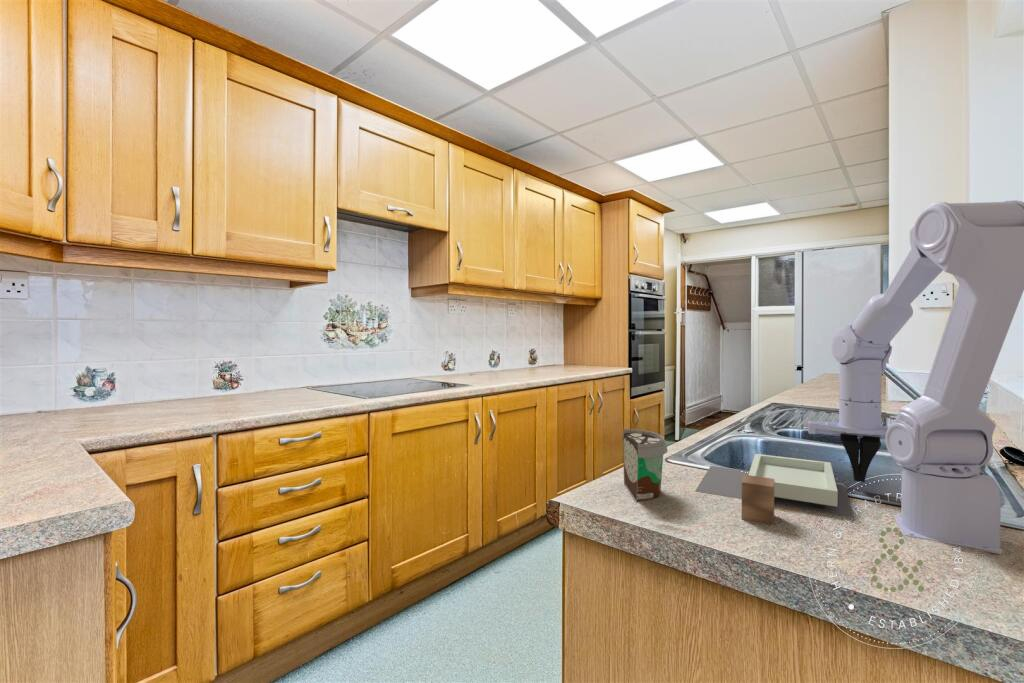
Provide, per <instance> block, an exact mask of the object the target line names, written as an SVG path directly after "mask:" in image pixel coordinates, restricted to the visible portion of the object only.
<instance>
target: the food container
mask: <svg viewBox="0 0 1024 683" xmlns="http://www.w3.org/2000/svg"><path fill="white" fill-rule="evenodd" d="M621 438H622V439H621V440H622V450H623V451H622V452H623V457H622V460H623V485H624V487H625V489H626V490H627V491H628V493H629V495H630V496H631V497H632V499H633V501H634V502H635V504H637V503H639V502H646V501H651V500H655V499H657V498H658V497H660V495H661V488H662V478H663V477H662V474H663V463H664V455H665V454H667V453H668V447H667V442H666V440H665V438H664V436H663V435H661V434H659V433H657V432H653V431H650V430H649V431H648V430H644V429H643V430H641V429H635V428H634V429H629V428H623V429H622V437H621Z"/></svg>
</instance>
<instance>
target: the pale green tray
mask: <svg viewBox="0 0 1024 683" xmlns="http://www.w3.org/2000/svg"><path fill="white" fill-rule="evenodd" d="M749 471H750V472H749V475H751V476H758V477H765V478H772V479H774V497H779V498H786V499H792V500H798V501H805V502H811V503H817V507H821V508H825V505H830V506H836V507H837V498H838V491H837V487H836V483H837V482H836V479H835V476H834V471H833V466H832V463H831V462H829V461H820V460H812V459H803V458H795V457H787V456H777V455H769V454H760V453H755V454H754V457H753V459H752V462H751V465H750V468H749Z"/></svg>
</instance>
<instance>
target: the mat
mask: <svg viewBox="0 0 1024 683" xmlns="http://www.w3.org/2000/svg"><path fill="white" fill-rule="evenodd" d="M741 471H743V472H741ZM745 472H746V473H745ZM747 472H748V473H747ZM749 472H750V470H745V469H739V468H731V467H724V466H723V467H722V466H717V465H710V466H709V468H708V469H707V471H706V473H705V474H704V476H703V477H702V479H701V481H700V482H699V484H698V486H697V487H696V489H695V490H694V492H697V493H703V494H708V495H715V496H721V497H725V498H726V497H727V498H733V499H739V500H742V480H743V477H744V475H749ZM835 483H836V487H837V491H838V498H837V507H836V506H830V505H825V508H821V507H817V503H811V502H805V501H798V500H792V499H786V498H779V497H774V506H781V507H786V508H793V509H799V510H804V511H811V512H817V513H822V514H828V515H834V516H835V515H836V516H841V517H845V518H846V517H848V518H852V519H853V518H855V517H854V513H853V510H852V506H851V502H850V500H849V496H848V492H847V488H846V486H845V483H841V482H835Z"/></svg>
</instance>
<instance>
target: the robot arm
mask: <svg viewBox="0 0 1024 683" xmlns="http://www.w3.org/2000/svg"><path fill="white" fill-rule="evenodd" d="M909 244H910V250H909V252H908V254H907V255H906V257H905V259H904V260H903V262H902V264H901V265H900V267H899V268H898V271H897V272H896V274H895V275H894V277H893V278H892V281H891V282H890V284H889V285H888V287H887V289H886V290H885V292H884V293H880V294H879V293H878V294H875V295H873V296H871V298H870V299H869V300H868V301H867V303H866V305H865V306H864V307H863V309H862V310H861V311H860V313H859V314H858V316H857V317H856V318H855V319H854V321H853V322H852V323H851V324H850V325H848V324H847V325H846V326H845V327H842V328H838V329H837V330H835V332H834V335H833V336H832V338H831V339H832V340H831V346H830V347H831V352H832V355H833V358H834V359H835V360H836V361H837V362H838V363H839V366H838V368H839V379H838V380H839V381H838V385H839V386H838V395H839V396H838V405H839V406H838V421H817V420H814V421H813V420H808V427H807V428H808V429H807V430H808V432H807V433H808V435H809V434H810V435H817V434H819V435H829V436H839V438H840V442H841V444H842V446H843V448H844V451H846V454H847V456H848V459H849V462H850V466H851V470H852V477H853V478H852V479H853V481H854V482H860V483H865V482H866V476H867V473H868V469H869V467H870V465H871V463H872V461H873V459H874V458H875V456H876V454H877V452H879V451H880V448H881V445H882V442H881V440H883V441H885V446H886V450H887V451H888V453H889V454H890V456H891V457H892V459H893V460H894V461H895V464H896V465H897V466H901V500H900V501H901V504H900V506H901V507H900V508H901V510H900V514H897V513H896V514H893V518H894V519H895V520H894V521H895V522H896V524H897V526H898V529H899V530H900V532H901V534H902V535H903V536H904V537H909V538H915V539H920V540H927V541H932V542H938V543H945V544H951V545H956V546H961V547H967V548H972V549H978V550H985V551H986V552H987V553H990V554H997V555H1002V553H1003V552H1002V551H1003V550H1002V549H1001V516H1002V515H1001V512H1002V511H1001V509H1002V508H1001V505H1002V502H1001V495H1000V489H999V486H998V483H997V481H996V479H995V478H994V477H992V476H990V475H986V474H981V467H984V466H985V465H987V464H988V463H989V462H990V461H991V459H992V457H993V454H994V443H993V436H994V435H993V434H994V431H995V429H996V427H997V425H996V423H995V422H994V421H993V420H992V419H991V418H990V417H989V416H988V415H987V414H986V413H984V412H983V411H982V410H981V409H980V408H979V407H980V405H981V404H982V403H981V402H982V400H983V397H984V395H985V393H986V390H987V387H988V384H989V382H990V379H991V377H992V374H993V371H994V369H995V366H996V363H997V362H998V358H999V355H1000V353H1001V351H1002V349H1003V346H1004V343H1005V340H1006V337H1007V334H1008V332H1009V330H1010V328H1011V325H1012V323H1013V319H1014V316H1015V314H1016V312H1017V308H1018V306H1019V303H1020V301H1021V298H1022V295H1023V293H1024V201H1021V200H1012V199H1011V200H1005V201H995V202H994V201H990V202H983V201H982V202H955V203H954V202H953V203H949V202H947V201H946V202H945V201H944V202H943V201H941V202H940V201H939V202H935V203H931V204H930V205H928V206H927V207H925V209H924V210H922V211H921V213H920V214H919V215H918V217H917V219H916V220H915V223H914V225H913V227H911V229H910V230H909ZM943 271H944V272H945V273H948V274H950V275H952V276H953V277H954V279H955V280H956V281H957V283H958V287H957V288H956V289H957V290H956V293H955V296H954V299H953V302H952V304H951V305H952V306H951V308H950V311H949V314H948V317H947V320H946V324H945V327H944V330H943V331H942V332H943V333H942V335H941V339H940V342H939V345H938V348H937V351H936V354H935V356H934V359H933V363H932V366H931V369H930V373H929V374H928V378H927V381H926V384H925V387H924V390H923V393H922V395H921V396H920V397H918V398H916V399H914V400H913V401H910V402H909V403H907V404H905V405H903V406H902V407H900V408H899V409H898V413H897V416H896V418H895V420H893V421H892V422H891V423H890V424H889V425H888V426H886V425H882V392H883V390H882V386H883V385H882V383H883V382H882V381H883V380H882V379H883V376H882V375H883V374H884V373H885V372H886V371H887V362H888V360H889V359H890V357H891V355H892V351H893V346H892V345H891V342H892V340H893V339H894V338H895V337H896V336H897V334H898V333H899V332H900V331H901V330H902V328H903V327H904V326H905V325H906V324H907V323H908V322H909V320H910V319H911V318H912V317H913V314H914V309H913V307H912V305H911V303H913V302H914V301H915V300H916V299H917V298H918V297H919V295H921V294H922V293H923V291H924V290H926V289H927V287H929V286H930V285H931V283H932V282H933V281H935V279H936V278H937V277H938V276H939V275H940V274H941V273H942V272H943Z"/></svg>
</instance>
